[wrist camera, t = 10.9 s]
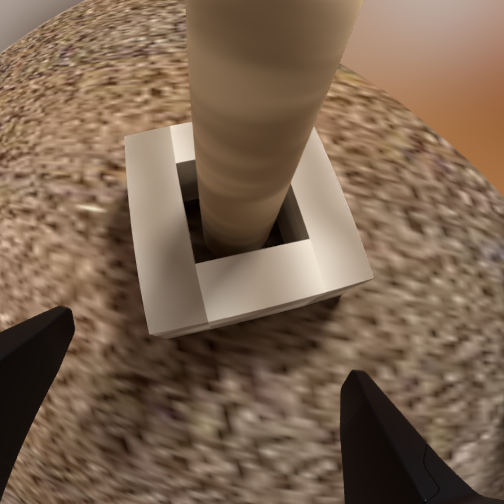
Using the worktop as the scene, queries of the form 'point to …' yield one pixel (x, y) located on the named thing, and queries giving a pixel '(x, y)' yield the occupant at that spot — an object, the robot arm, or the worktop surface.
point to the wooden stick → (257, 105)
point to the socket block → (242, 265)
